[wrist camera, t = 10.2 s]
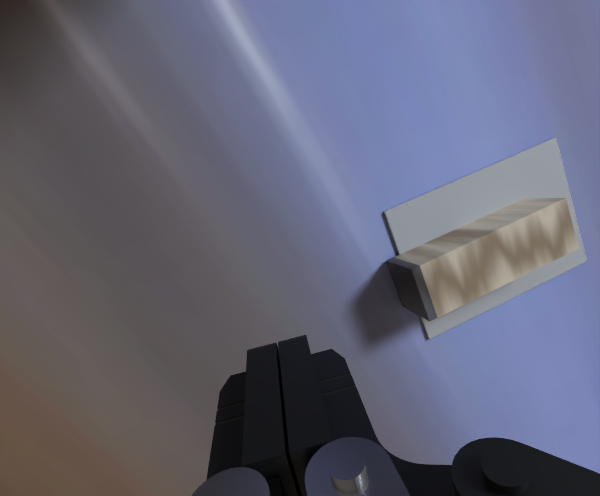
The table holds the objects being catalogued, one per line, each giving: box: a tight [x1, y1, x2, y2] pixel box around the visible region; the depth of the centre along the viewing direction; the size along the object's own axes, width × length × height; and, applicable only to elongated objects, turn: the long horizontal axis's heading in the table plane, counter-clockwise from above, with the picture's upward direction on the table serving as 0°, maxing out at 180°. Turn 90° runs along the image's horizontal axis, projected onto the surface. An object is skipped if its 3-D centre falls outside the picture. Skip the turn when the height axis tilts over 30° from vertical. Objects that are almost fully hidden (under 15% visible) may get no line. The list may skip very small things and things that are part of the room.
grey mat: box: [384, 137, 587, 339], centre depth 39 cm, size 14×20×1 cm
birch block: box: [387, 198, 579, 321], centre depth 36 cm, size 5×5×16 cm
